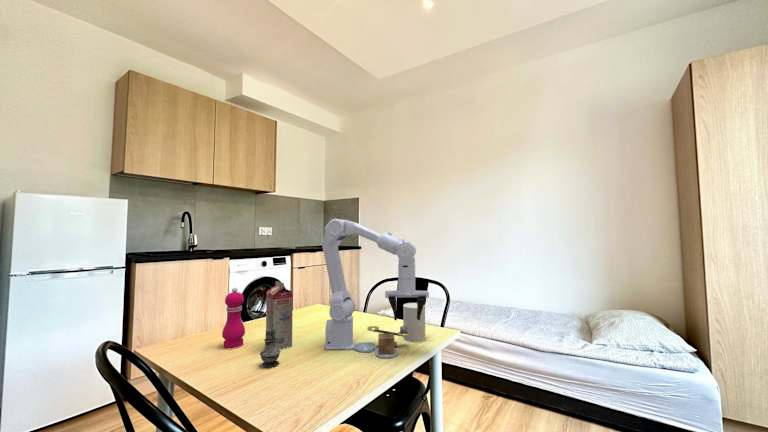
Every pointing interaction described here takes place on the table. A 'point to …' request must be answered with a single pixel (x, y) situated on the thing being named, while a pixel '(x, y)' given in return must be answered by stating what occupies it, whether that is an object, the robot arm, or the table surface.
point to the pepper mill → (233, 320)
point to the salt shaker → (270, 349)
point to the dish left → (365, 347)
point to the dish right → (385, 355)
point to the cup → (414, 322)
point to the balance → (402, 332)
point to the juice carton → (280, 314)
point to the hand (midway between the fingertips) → (406, 319)
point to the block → (386, 344)
